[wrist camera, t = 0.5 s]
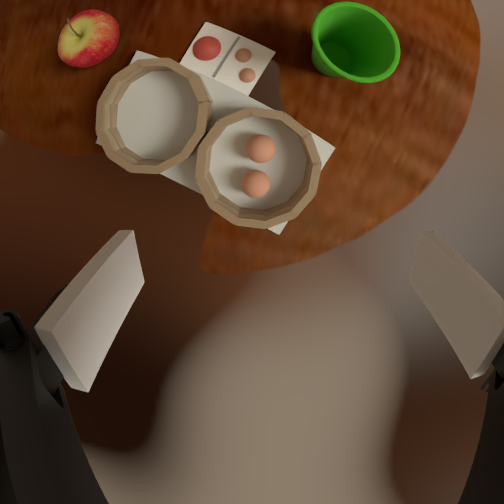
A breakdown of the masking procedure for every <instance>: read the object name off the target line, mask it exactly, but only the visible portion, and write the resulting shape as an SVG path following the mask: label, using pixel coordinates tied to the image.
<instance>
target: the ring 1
mask: <svg viewBox="0 0 504 504" xmlns="http://www.w3.org/2000/svg"><path fill="white" fill-rule="evenodd" d="M151 71H176V72H177V73H179V74H181V75H182V76H184V77H186V78H187V79H188V81H189V83H190V85H191V87H192V89H193V91H194V93H195V95H196V98H197V100H198V102H199V106H198V115H197V125H196V131H195V132H194V134H193V135H192V137H191V138H190V140H189V141H188V143H187V144H186V145H185V147H184V148H183V150H182V151H181V153H180V154H178V155H176V156H174V157H172V158H170V159H168V160H152V159H143V158H142V157H140V156H139V155H137V154H136V153H134V152H133V151H131V150H130V149H128V148H127V147H126V146H125V144H124V142H123V140H122V138H121V136H120V133H119V131H118V129H117V112H118V103H119V102H120V100H121V98H122V97H123V95H124V93H125V92H126V90H127V89H128V87H129V85H130V84H131V83H133V82H134V81H136V80H137V79H139V78H141V77H142V76H144V75H146V74H147V73H149V72H151ZM212 102H213V100H212V98H211V96H210V94H209V92H208V90H207V88H206V86H205V83H204V81H203V79H202V78H201V77H200V76H199V75H197V74H196V73H194V72H193V71H191V70H189V69H188V68H186V67H184V66H183V65H181V64H179V63H177V62H176V61H174V60H172V59H170V58H152V59H139V60H137V61H135V62H134V63H132V64H130V65H129V66H127V67H126V68H124V69H123V70H121V71H120V72H118V73H117V74H115V75H114V76H113V77H112V78H111V80H110V81H109V83H108V85H107V86H106V88H105V90H104V91H103V93H102V95H101V97H100V99H99V100H98V103H97V113H96V131H97V132H96V134H97V136H98V138H99V141H100V143H101V145H102V147H103V149H104V151H105V153H106V155H107V156H108V158H109V159H111V160H112V161H114V162H115V163H117V164H118V165H120V166H121V167H122V168H124V169H126V170H127V171H129V172H131V173H148V174H159V173H161V172H163V171H165V170H167V169H169V168H171V167H173V166H175V165H177V164H179V163H181V162H183V161H185V160H187V159H188V158H190V157H191V156H193V155H194V153H195V152H196V151H197V149H198V148H199V147H198V146H199V145H200V144H201V142H202V141H203V139H204V138H205V137H206V135H207V134H208V132H209V131H210V129H211V120H212V111H213V103H212Z"/></svg>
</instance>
